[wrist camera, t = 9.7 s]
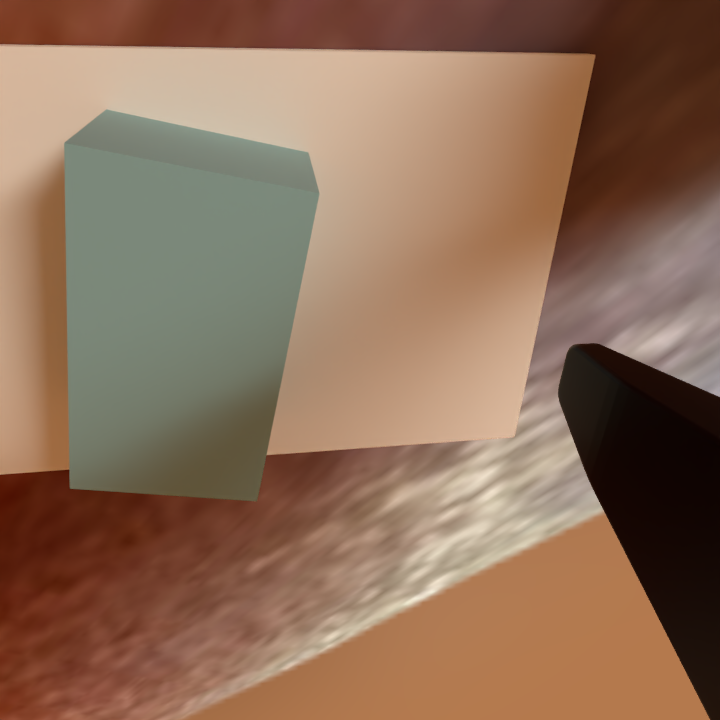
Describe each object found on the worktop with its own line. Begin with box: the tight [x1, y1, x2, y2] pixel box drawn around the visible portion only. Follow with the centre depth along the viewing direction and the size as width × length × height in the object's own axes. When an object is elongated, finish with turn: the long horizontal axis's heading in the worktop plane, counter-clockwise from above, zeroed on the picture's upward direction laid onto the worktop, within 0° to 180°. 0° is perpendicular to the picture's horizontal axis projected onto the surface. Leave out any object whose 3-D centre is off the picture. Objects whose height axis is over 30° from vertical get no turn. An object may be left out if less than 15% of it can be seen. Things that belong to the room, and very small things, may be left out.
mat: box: [0, 44, 595, 475], centre depth 19 cm, size 20×14×1 cm
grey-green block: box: [64, 109, 320, 501], centre depth 17 cm, size 10×6×4 cm, turn 167°
